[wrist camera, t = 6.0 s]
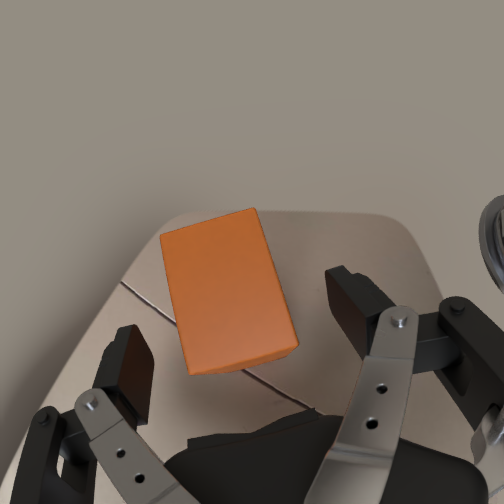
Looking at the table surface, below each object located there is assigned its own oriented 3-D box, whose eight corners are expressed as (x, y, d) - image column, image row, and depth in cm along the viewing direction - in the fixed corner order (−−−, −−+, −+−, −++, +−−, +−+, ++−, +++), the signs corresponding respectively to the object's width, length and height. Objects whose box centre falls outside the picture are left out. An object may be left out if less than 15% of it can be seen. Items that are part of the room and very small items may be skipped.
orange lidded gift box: (263, 281, 23) (255, 206, 12) (286, 356, 21) (300, 345, 10) (209, 297, 22) (158, 234, 12) (229, 372, 20) (188, 375, 10)
